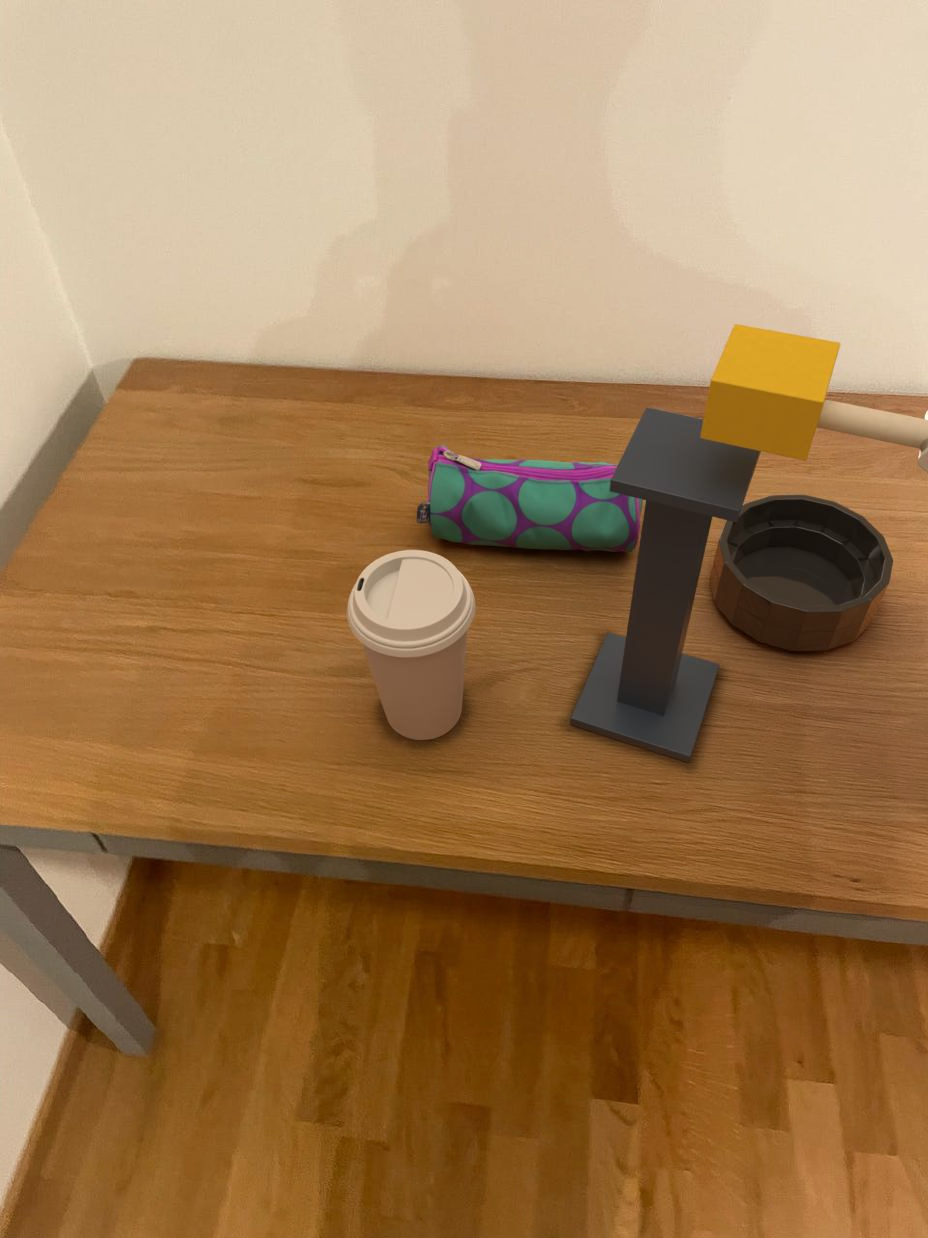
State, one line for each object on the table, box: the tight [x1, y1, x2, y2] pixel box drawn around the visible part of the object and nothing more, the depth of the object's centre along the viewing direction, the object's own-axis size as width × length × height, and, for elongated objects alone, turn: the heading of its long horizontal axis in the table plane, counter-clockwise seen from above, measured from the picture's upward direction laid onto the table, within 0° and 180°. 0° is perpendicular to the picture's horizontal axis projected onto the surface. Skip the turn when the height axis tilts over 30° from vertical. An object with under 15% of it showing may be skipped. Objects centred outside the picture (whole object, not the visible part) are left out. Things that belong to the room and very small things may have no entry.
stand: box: [569, 406, 762, 764], centre depth 68 cm, size 10×10×26 cm
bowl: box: [709, 493, 894, 652], centre depth 83 cm, size 14×14×6 cm
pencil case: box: [416, 444, 644, 553], centre depth 88 cm, size 21×9×10 cm, turn 82°
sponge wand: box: [700, 323, 928, 462], centre depth 51 cm, size 19×6×4 cm, turn 67°
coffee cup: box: [346, 549, 476, 741], centre depth 73 cm, size 10×10×15 cm
